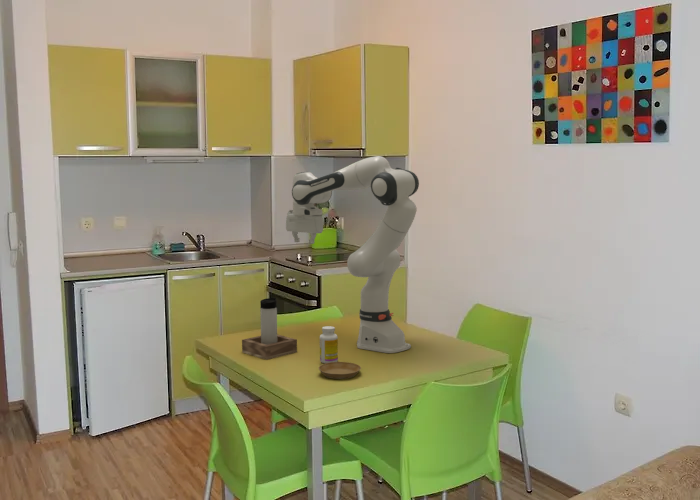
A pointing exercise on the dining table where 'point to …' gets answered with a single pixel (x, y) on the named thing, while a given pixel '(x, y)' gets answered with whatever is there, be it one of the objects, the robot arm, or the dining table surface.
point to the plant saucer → (339, 370)
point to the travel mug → (268, 321)
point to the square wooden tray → (269, 347)
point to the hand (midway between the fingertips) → (304, 242)
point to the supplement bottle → (328, 345)
